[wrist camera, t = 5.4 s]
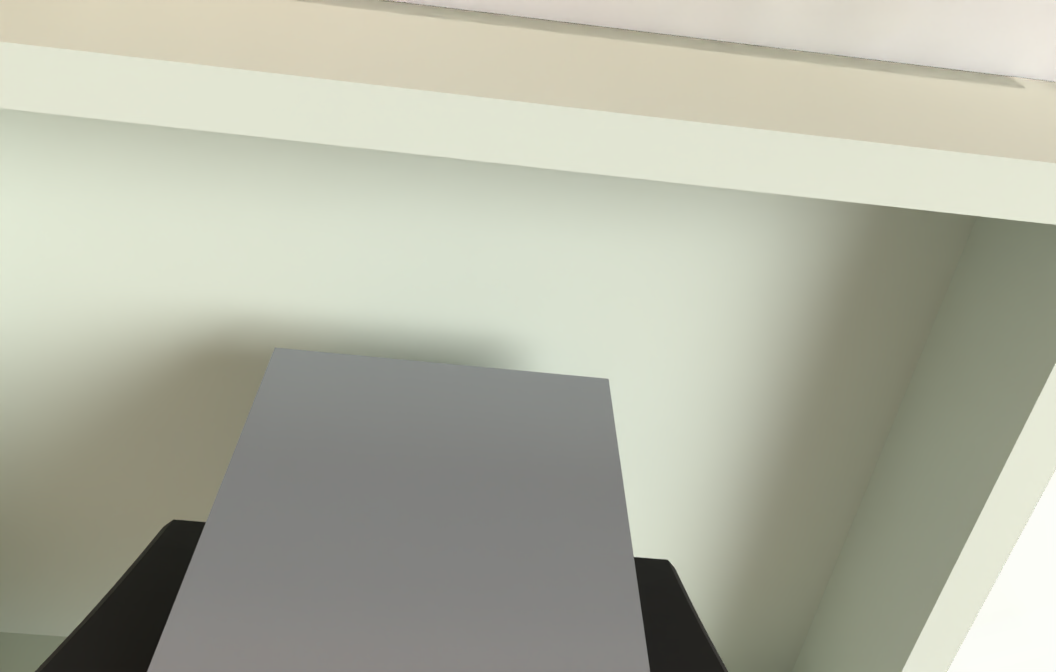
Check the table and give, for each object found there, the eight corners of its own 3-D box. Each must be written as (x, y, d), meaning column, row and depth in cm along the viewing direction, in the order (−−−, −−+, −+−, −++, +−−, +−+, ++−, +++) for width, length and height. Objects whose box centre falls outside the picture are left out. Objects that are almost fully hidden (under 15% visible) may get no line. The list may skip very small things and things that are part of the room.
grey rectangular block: (562, 606, 14) (583, 996, 9) (280, 585, 13) (171, 977, 9) (608, 378, 12) (661, 749, 7) (275, 346, 11) (130, 715, 7)
